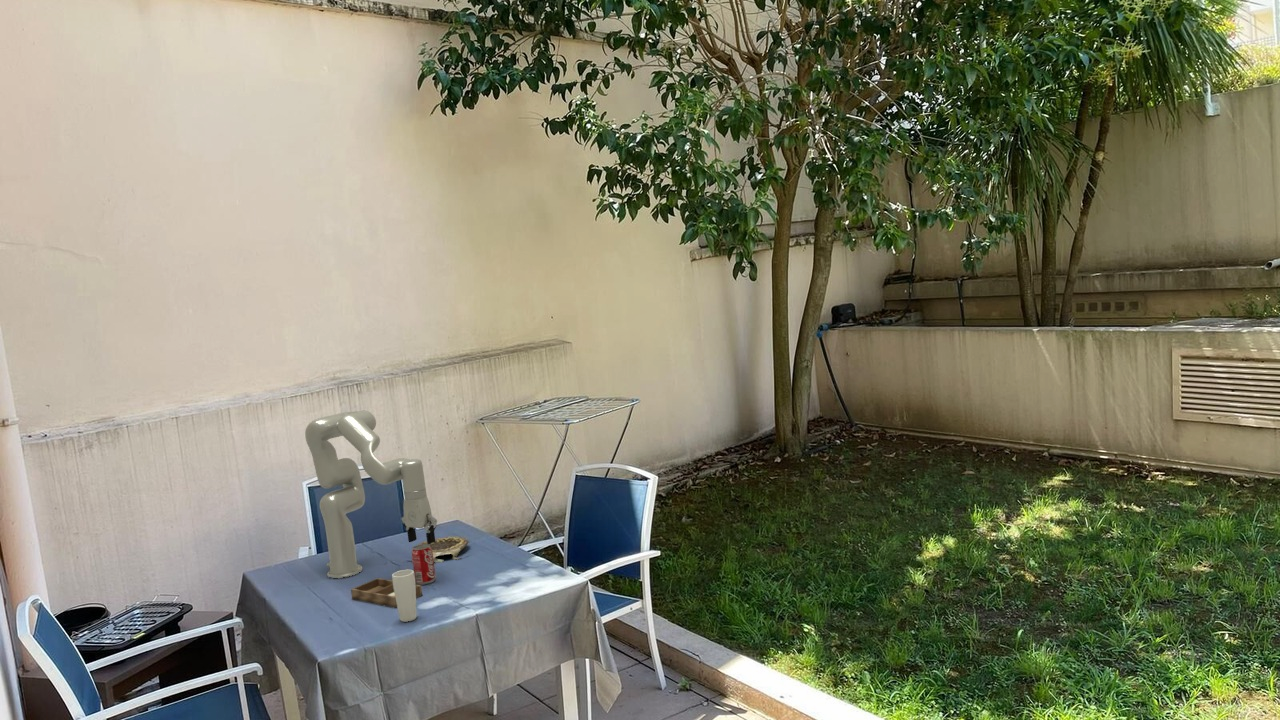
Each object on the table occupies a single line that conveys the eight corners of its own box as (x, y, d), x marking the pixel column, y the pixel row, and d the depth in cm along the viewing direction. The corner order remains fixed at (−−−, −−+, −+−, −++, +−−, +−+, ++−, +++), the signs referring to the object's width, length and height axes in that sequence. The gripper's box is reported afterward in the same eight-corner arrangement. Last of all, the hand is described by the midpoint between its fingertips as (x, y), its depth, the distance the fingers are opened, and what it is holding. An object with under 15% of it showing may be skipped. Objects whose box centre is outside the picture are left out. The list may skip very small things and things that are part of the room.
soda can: (430, 585, 300) (426, 549, 299) (411, 585, 302) (407, 549, 301) (439, 578, 307) (435, 542, 306) (420, 578, 309) (416, 543, 308)
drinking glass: (399, 616, 273) (394, 570, 272) (421, 613, 273) (415, 568, 272) (395, 624, 266) (389, 577, 265) (417, 622, 267) (411, 575, 265)
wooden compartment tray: (352, 599, 294) (350, 589, 293) (379, 587, 303) (378, 578, 303) (395, 607, 281) (394, 597, 281) (422, 595, 291) (421, 585, 290)
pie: (394, 557, 339) (393, 545, 339) (455, 540, 357) (454, 528, 357) (429, 570, 318) (428, 557, 318) (492, 551, 337) (490, 538, 336)
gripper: (390, 496, 303) (397, 543, 305) (424, 498, 294) (430, 547, 295) (407, 491, 310) (413, 537, 311) (440, 492, 300) (446, 540, 301)
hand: (422, 542), depth 303 cm, fingers open, 9 cm apart
